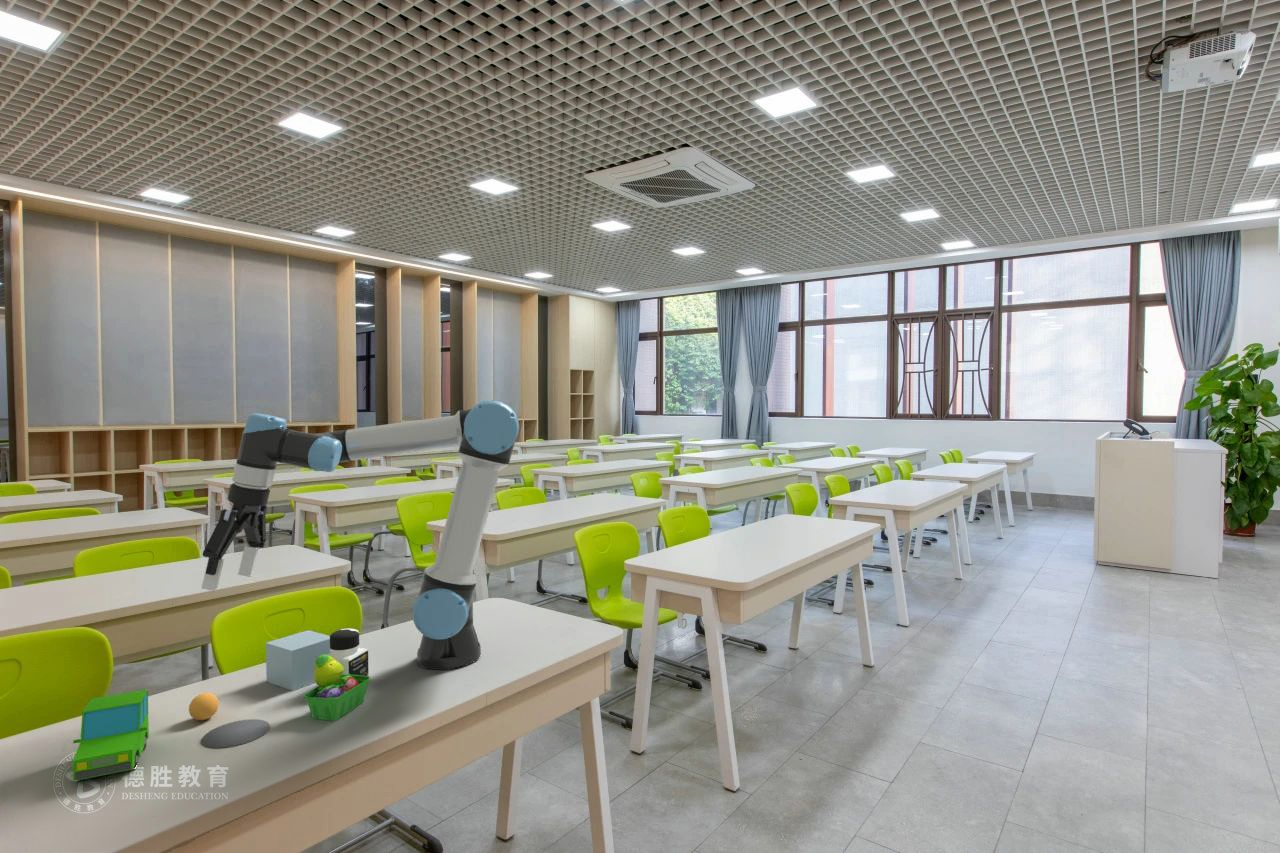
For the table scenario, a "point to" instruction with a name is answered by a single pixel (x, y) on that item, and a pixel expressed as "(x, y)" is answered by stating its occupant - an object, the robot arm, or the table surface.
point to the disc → (235, 733)
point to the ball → (203, 706)
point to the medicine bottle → (349, 652)
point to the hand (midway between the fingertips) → (227, 582)
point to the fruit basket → (334, 690)
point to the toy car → (112, 734)
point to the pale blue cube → (295, 658)
